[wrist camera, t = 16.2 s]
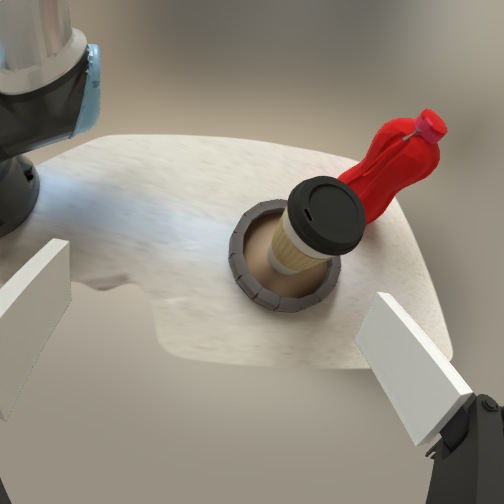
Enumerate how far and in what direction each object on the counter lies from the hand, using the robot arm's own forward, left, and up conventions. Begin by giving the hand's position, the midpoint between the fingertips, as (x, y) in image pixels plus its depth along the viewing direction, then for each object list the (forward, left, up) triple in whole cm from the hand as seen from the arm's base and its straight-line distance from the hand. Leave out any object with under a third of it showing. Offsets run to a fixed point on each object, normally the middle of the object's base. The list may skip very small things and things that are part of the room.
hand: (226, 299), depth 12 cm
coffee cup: (+7, +19, -29) cm, 35 cm away
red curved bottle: (+14, +34, -30) cm, 47 cm away
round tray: (+7, +19, -30) cm, 36 cm away
